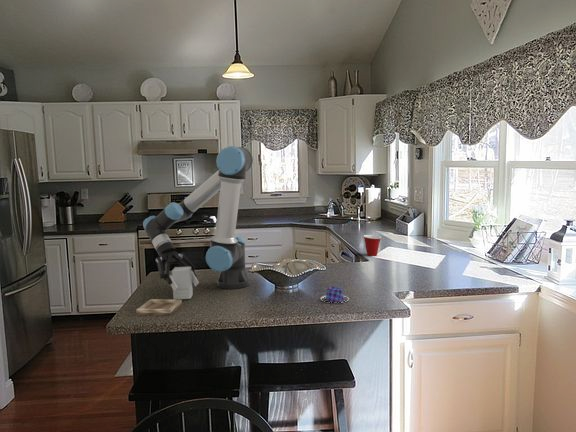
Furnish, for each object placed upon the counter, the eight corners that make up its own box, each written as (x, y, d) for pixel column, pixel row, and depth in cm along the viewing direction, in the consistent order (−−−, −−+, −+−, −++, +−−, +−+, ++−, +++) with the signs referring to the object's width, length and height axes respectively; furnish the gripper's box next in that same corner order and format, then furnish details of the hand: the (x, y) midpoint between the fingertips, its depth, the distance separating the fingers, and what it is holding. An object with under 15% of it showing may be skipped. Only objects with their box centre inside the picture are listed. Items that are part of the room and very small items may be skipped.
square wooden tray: (182, 304, 193) (182, 299, 193) (170, 315, 180) (170, 310, 179) (150, 303, 195) (150, 299, 195) (135, 314, 181) (135, 309, 181)
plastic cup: (381, 257, 277) (381, 237, 276) (363, 257, 279) (363, 237, 278) (381, 253, 288) (381, 234, 286) (363, 253, 290) (363, 234, 289)
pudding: (354, 299, 196) (354, 287, 196) (338, 306, 187) (338, 293, 187) (331, 294, 204) (331, 282, 204) (314, 301, 195) (314, 288, 195)
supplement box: (193, 294, 206) (191, 266, 205) (190, 299, 199) (188, 270, 198) (176, 294, 206) (174, 266, 205) (172, 299, 199) (171, 270, 197)
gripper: (182, 247, 219) (204, 286, 210) (138, 255, 203) (160, 297, 194) (188, 237, 215) (211, 276, 206) (144, 244, 198) (167, 287, 190)
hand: (186, 286), depth 200 cm, fingers closed on supplement box, 10 cm apart
